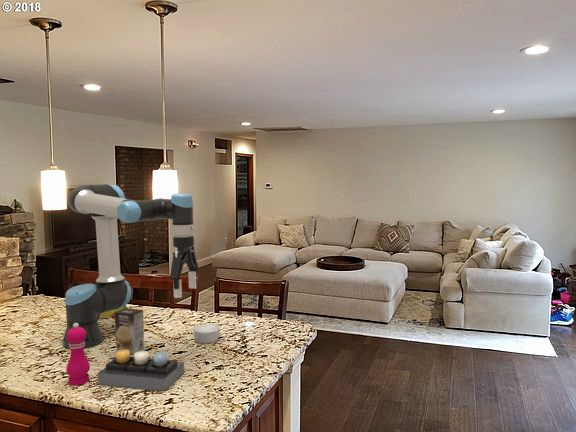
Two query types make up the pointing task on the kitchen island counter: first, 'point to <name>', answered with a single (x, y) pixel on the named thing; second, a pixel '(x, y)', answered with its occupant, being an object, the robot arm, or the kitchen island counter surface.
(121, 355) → the amber button
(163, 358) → the blue button
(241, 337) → the kitchen island counter surface
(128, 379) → the button console
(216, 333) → the ramekin
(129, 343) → the coffee box
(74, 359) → the pepper mill
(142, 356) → the cream rounded cylinder
